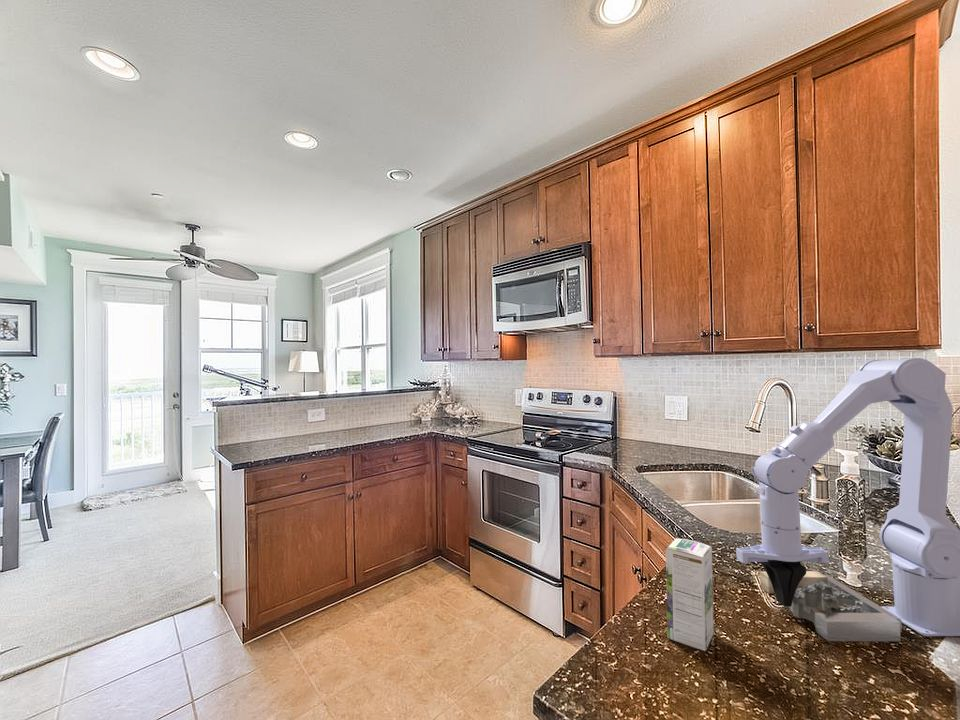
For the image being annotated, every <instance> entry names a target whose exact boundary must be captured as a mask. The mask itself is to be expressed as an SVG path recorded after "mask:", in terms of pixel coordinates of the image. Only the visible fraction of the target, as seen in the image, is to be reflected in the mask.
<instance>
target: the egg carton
mask: <svg viewBox="0 0 960 720" xmlns="http://www.w3.org/2000/svg"><path fill="white" fill-rule="evenodd" d="M862 604H863V602H862V601H861V600H859V601H856V600H854V599H853V598H852V596H851V595H850V594H845V593H844V592H843V591H840V590H838V589H836V588H835V587H833V588H832V587H830V586H828V585H827V584H826V583H824V582H822V581H821V580H820V581H818V582H817V583H815V584H813V585H809V586H808V587H807V586H806V585H805V586H803V587H802V588H798V589H796V591H795V594H794V598H793V602H792V606H789V610H790V612H791V613H792V615H793V616H794V618H797V619H806V620H808V621H810V622H812V623H813V625H814V627H815V628H816V625H815V613H860V611H859V610H860V607H861V608H863V607H862ZM806 605H807V606H808V607H807V606H806Z"/></svg>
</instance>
